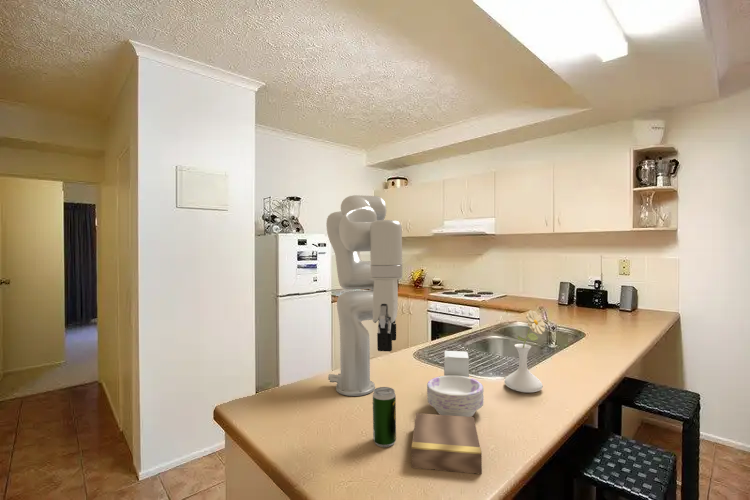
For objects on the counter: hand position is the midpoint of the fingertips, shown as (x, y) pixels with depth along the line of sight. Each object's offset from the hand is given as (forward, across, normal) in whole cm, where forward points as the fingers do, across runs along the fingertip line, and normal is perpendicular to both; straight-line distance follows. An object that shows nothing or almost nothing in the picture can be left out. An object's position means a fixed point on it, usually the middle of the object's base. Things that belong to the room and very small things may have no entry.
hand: (387, 345), depth 85 cm
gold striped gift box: (+23, +2, +13) cm, 26 cm away
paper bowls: (+23, -17, +16) cm, 33 cm away
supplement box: (+23, -29, +18) cm, 41 cm away
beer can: (+23, 0, -1) cm, 23 cm away
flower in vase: (+23, -37, +40) cm, 59 cm away
